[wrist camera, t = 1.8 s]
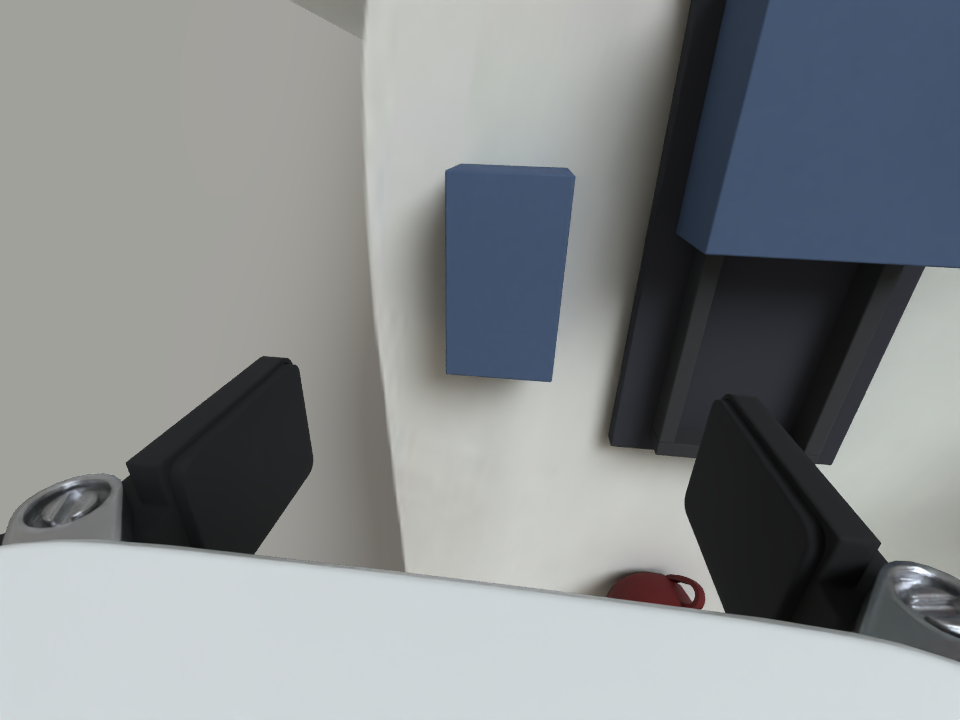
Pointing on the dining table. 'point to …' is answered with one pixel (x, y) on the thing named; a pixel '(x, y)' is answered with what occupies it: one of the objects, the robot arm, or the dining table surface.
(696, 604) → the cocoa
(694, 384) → the pad base
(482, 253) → the loose pad
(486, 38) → the dining table surface
